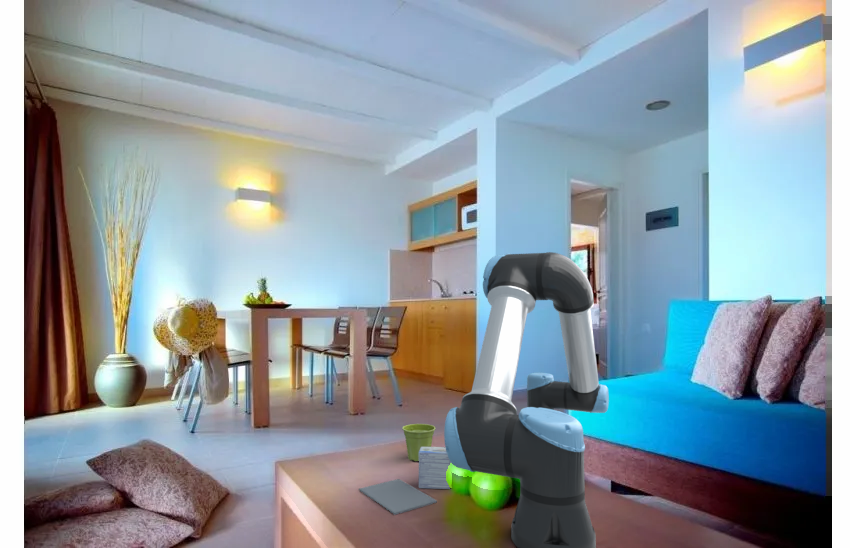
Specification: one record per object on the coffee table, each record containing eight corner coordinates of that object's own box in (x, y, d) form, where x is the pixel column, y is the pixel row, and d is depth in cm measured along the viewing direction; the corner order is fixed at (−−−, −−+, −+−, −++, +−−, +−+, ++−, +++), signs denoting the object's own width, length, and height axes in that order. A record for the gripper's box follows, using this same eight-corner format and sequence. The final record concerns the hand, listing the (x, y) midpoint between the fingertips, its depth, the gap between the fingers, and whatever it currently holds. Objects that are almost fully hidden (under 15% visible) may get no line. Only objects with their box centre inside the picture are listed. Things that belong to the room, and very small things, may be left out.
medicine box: (452, 482, 118) (452, 446, 118) (451, 490, 114) (451, 452, 114) (420, 481, 119) (420, 445, 119) (418, 488, 114) (418, 451, 115)
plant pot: (399, 454, 140) (399, 424, 140) (430, 452, 142) (430, 422, 142) (405, 465, 131) (405, 432, 131) (439, 462, 133) (439, 430, 133)
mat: (437, 502, 106) (437, 500, 106) (394, 514, 100) (394, 513, 100) (398, 480, 120) (398, 478, 120) (359, 490, 113) (359, 488, 113)
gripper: (534, 454, 127) (465, 472, 114) (499, 442, 138) (432, 457, 124) (534, 425, 127) (464, 439, 114) (499, 415, 138) (432, 427, 125)
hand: (448, 448), depth 119 cm, fingers closed
